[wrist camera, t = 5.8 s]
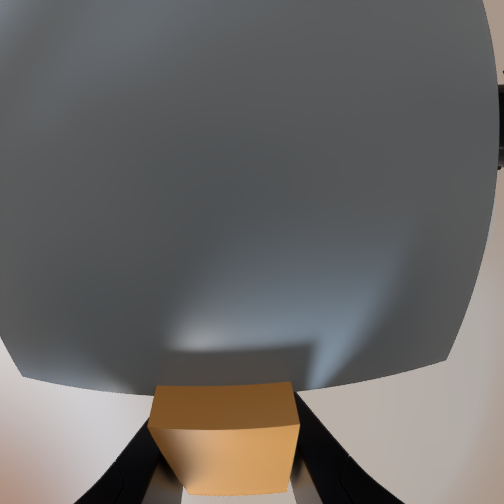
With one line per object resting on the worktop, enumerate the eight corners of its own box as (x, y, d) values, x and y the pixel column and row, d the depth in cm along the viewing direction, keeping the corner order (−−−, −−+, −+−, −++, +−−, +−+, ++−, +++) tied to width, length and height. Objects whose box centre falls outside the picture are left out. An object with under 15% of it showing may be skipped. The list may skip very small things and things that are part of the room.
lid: (436, -5, 4) (506, -34, 1) (387, 402, 10) (414, 460, 7) (1, 26, 4) (-68, 12, 1) (88, 414, 9) (68, 472, 6)
